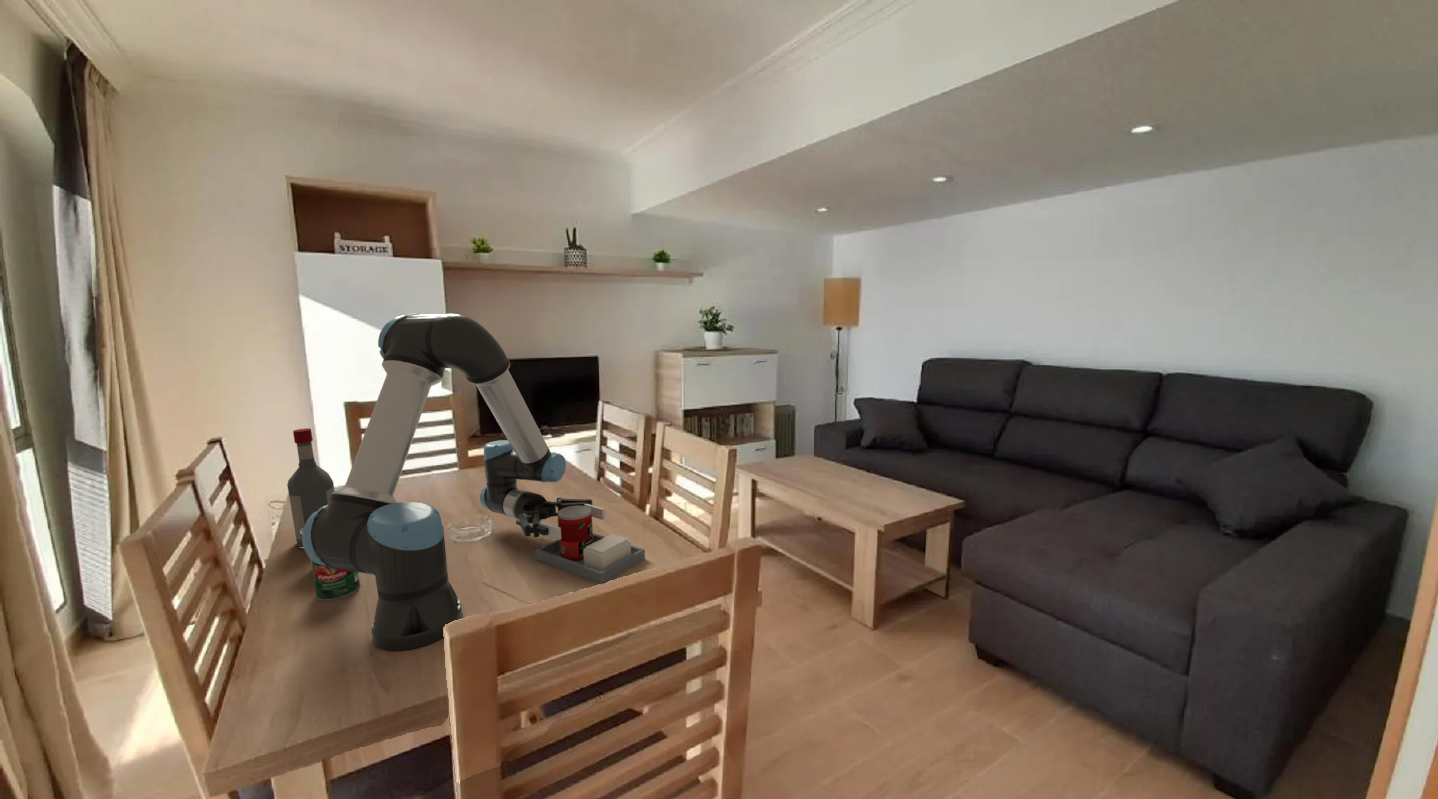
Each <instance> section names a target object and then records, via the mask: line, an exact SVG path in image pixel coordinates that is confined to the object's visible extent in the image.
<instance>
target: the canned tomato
mask: <svg viewBox="0 0 1438 799" xmlns="http://www.w3.org/2000/svg"><path fill="white" fill-rule="evenodd" d="M310 563H311V569H312V576H313V581H314V589H315V596H316V597H317V598H316V599H317V600H318V599H319V601H321V600H331V601H336V600H340V599H343V598H345V597H349V596H350V595H353V594H354V593H355V592H357V591H358V590H359V589H360V588H361V582H360V576H359V572H354V571H348V570H339V569H331V568H329V567H327V566H323V565H320V564H317V563H315V562H314V561H312V560H311V559H310ZM352 593H353V594H352Z"/></svg>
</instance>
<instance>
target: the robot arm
mask: <svg viewBox="0 0 1438 799" xmlns="http://www.w3.org/2000/svg"><path fill="white" fill-rule="evenodd" d="M380 330H381V331H380V332H379V335H378V341H377V346H378V348H380V350H379V354H380V356H381V357H382V359H383V360H382V363H381V366H382V368H383V370H384V371H385V373H386V375H385V378H384V381H383V384H382V387H381V389H380V391H379V394H378V398H377V400H376V402H375V405H374V407H373V410H372V413H371V416H370V419H369V421H368V423H367V426H366V429H365V431H364V435H363V437H362V439H361V443H360V445H359V447H358V450H357V453H356V456H355V458H354V460H353V464H352V466H351V468H350V472H349V474H348V476H347V480H346V482H345V485H344V486H342V487H340V488H339V489H337V490H334V492H333V493H332V496H331V498H330V501H329V503H328V505H326V506H323V507H321V508H319V509H318V511H317V512H314V513H313V514H312V515H311V516H310V517H309V519H308V520H307V522H306V524H305V526H304V529H303V535H302V542H303V547H304V549H303V550H304V552H305V553H306V554H307V556H308V558H309V559H310V561H311V560H312V561H314V562H315V563H317V564H320V565H323V566H327V567H329V568H331V569H339V570H348V571H354V572H358V573H362V574H366V575H367V574H369V575H373V576H375V582H376V590H377V597H378V599H377V604H376V608H375V613H374V619H373V621H372V624H371V627H370V628H371V638H372V642H373V644H374V646H375V647H377V648H379V649H381V650H384V651H385V650H386V651H406V650H407V651H408V650H412V649H416V648H420V647H421V648H422V647H424V646H426V645H430V644H432V643H434V642H437V641H439V640H441V639H442V638H444V637H443V627H444V626H445V624H448V623H450V622H452V621H454V620H458V619H461V618H462V619H463V606H462V603H461V601H460V599H459V598H458V596H457V594H456V592H455V590H454V588H453V586H452V584H451V583H450V581H449V580H450V579H449V573H448V565H447V564H448V563H447V550H446V541H445V530H444V525H443V522H442V517H441V513H440V512H439V510H438V509H437V508H435V506H433V505H431V504H428V503H424V502H419V501H408V502H398V500H397V499H396V497H395V492H396V489H397V487H398V484H399V480H400V478H401V475H402V472H403V469H404V466H405V463H406V460H407V457H408V454H409V452H410V449H411V445H412V443H413V440H414V436H415V434H416V431H417V428H418V425H419V422H420V419H421V416H422V414H423V410H424V408H425V404H426V401H427V399H428V397H429V393H430V390H431V388H432V387H433V386H435V385H438V384H440V383H441V382H442V379H443V376H444V374H445V370H446V369H455V370H458V371H460V372H461V373H462V374H463V375H464V377H465V379H466V380H467V382H468V383H469V384H471V385H476V387H477V389H478V391H479V393H480V395H481V396H482V398H483V400H484V402H485V403H486V405H487V407H488V408H489V409H490V411H491V413H492V415H493V416H494V417H493V418H495V420H496V423H498V425H499V427H500V429H501V431H502V433H503V434H504V435H505V438H506V439H507V440H506V439H505V440H503V439H501V440H495V441H490V442H487V443H486V444H484V446H483V462H484V472H485V480H486V484H485V485H484V487H483V488H482V489H481V492H480V495H479V501H480V504H481V505H482V506H483V508H485V509H487V510H489V511H491V512H492V513H495V514H496V513H497V514H499V515H500V514H501V515H503V516H507V517H509V518H513V519H515V524H516V525H518V526H520V529H521V531H522V533H523V534H524V536H525V537H527V538H528V537H531V534H533V537H534V538H538V537H540V536H541V535H542V536H545V537H549V538H550V539H554V540H560V539H561V528H560V527H558V525H557V526H556V525H553V524H550V523H548V522H544V521H542V520H547V519H549V518H551V517H558V511H559V510H561V509H563V508H566V507H569V506H586V507H589V508H590V509H591V513H592V518H595V519H599V520H602V521H603V520H604V521H605V519H606V510H605V507H600V506H597V505H593V500H592V499H588V498H585V499H583V498H581V499H580V498H564V497H556V501H549V500H548V501H547V500H546V498H545V497H544V495H541V494H540V493H536V492H532V491H529V490H524V489H522V488H518V482H517V481H518V480H521V481H522V480H523V481H531V482H539V483H540V482H541V483H558V482H559V481H561V480H562V479H563V477H564V475H565V473H566V469H567V461H566V458H565V457H564V455H562V454H561V453H557V452H552V451H551V450H550V448H549V446H548V445H547V442H546V441H545V439H544V436H543V435H542V433H541V431H540V428H539V427H538V424H537V423H536V421H535V419H534V417H533V415H532V413H531V412H530V408H528V405H527V404H526V401H525V400H524V397H523V395H522V393H521V392H520V390H519V388H518V386H517V384H516V382H515V380H514V378H513V377H512V374H511V373H510V371H509V369H510V367H511V362H510V360H509V358H508V356H507V354H506V352H505V350H504V349H503V347H502V346H501V344H500V343H499V342H498V341H497V340H496V338H495V337H494V336H493V335H492V334H491V333H490V331H488V330H487V329H486V328H485V327H484V326H483V325H482V324H480V323H479V322H478V321H476V320H475V319H473V318H471V317H468V316H466V315H464V314H459V313H445V314H443V313H442V314H441V313H438V314H433V313H432V314H422V313H409V314H403V315H399V316H396V317H393V318H391V319H390V320H388V321H387V322H386V323H385V324H384V326H383V327H382V329H380ZM556 508H557V509H556ZM556 510H557V511H556ZM531 524H532V525H531Z"/></svg>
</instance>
